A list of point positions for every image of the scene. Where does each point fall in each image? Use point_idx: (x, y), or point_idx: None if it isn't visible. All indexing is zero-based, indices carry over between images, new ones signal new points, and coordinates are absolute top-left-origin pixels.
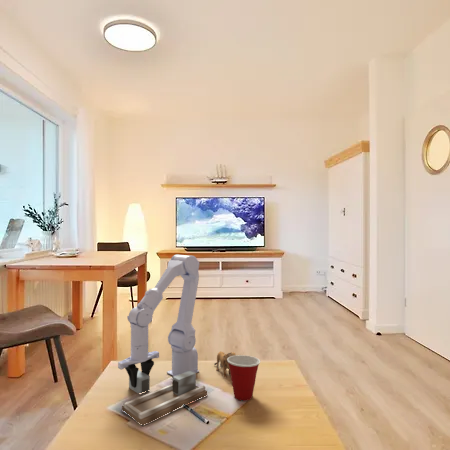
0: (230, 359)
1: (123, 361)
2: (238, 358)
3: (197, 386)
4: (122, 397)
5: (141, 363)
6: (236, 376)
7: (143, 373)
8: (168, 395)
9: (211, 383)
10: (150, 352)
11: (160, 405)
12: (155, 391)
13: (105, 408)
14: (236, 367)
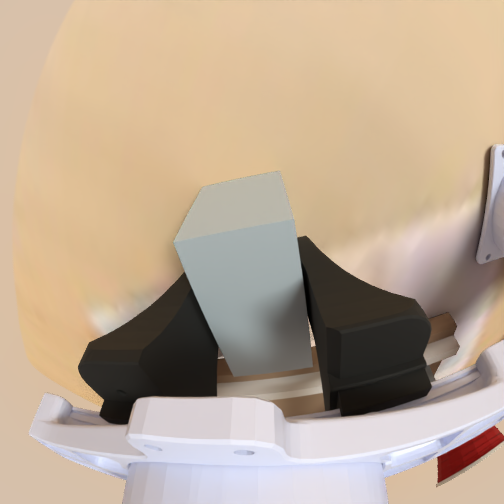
0: (482, 454)
1: (64, 440)
2: (500, 439)
3: (434, 373)
4: (146, 280)
5: (322, 336)
6: (438, 457)
7: (297, 320)
8: (322, 393)
9: (486, 332)
10: (482, 416)
11: None
12: (282, 394)
13: (84, 318)
14: (438, 478)
